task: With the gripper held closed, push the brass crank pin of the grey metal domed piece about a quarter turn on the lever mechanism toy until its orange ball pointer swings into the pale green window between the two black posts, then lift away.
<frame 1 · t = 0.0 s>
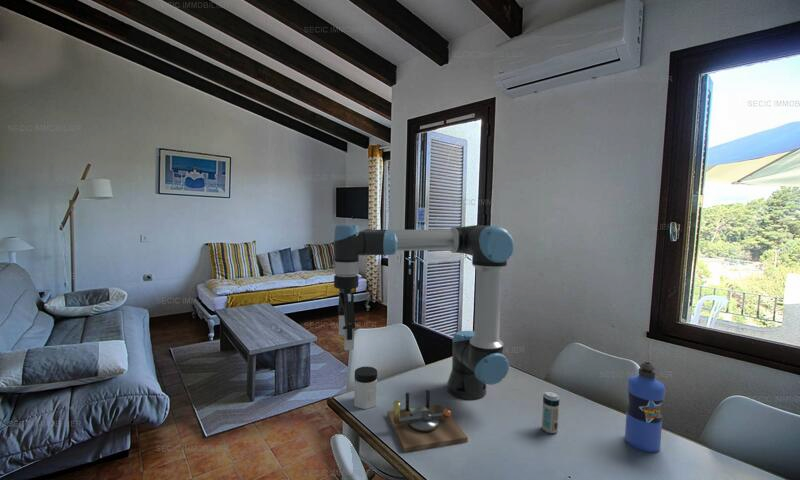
hand: (345, 341, 116), 28 cm above the table, fingers open, 13 cm apart
water bottle: (642, 443, 113), on the table
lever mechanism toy: (425, 428, 118), on the table
grey metal domed piece: (423, 410, 118), point 6 cm above the table, hinge at 0.0°
supplement bottle: (549, 430, 119), on the table
jar: (365, 403, 133), on the table
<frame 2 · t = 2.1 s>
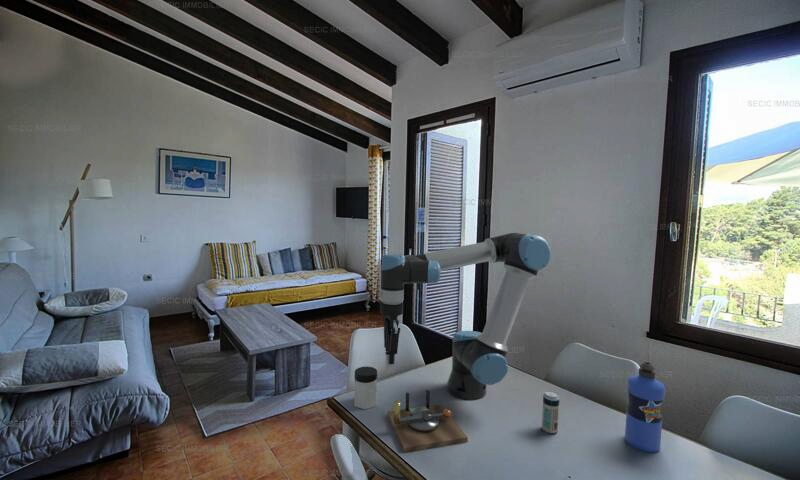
hand: (389, 371, 122), 16 cm above the table, fingers closed
nothing on the table moved.
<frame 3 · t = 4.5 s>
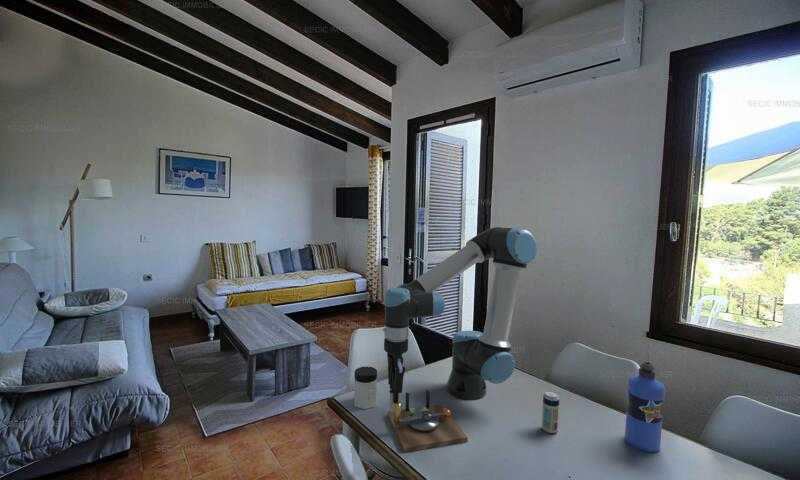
hand: (394, 410, 117), 6 cm above the table, fingers closed
grey metal domed piece: (423, 411, 118), point 6 cm above the table, hinge at 3.5°, touching gripper
everything else where it was.
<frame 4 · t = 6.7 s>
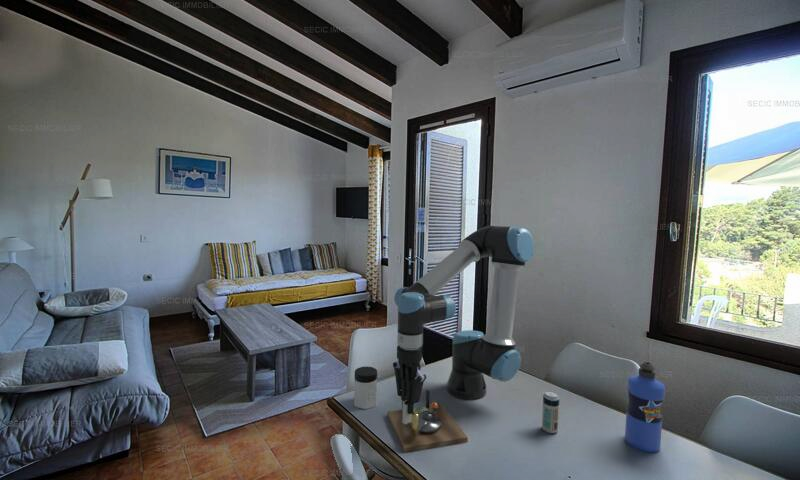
hand: (407, 421, 111), 6 cm above the table, fingers closed
grey metal domed piece: (425, 412, 117), point 6 cm above the table, hinge at 48.6°, touching gripper
everything else where it was.
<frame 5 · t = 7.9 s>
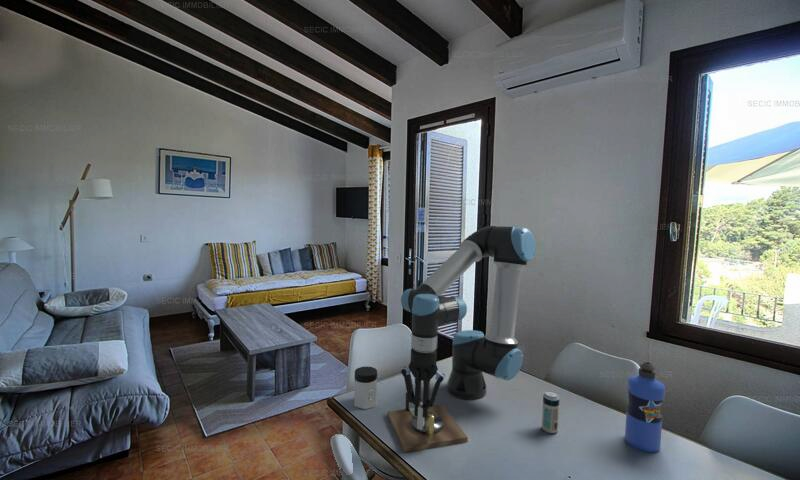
hand: (420, 426, 109), 6 cm above the table, fingers closed
grey metal domed piece: (427, 412, 117), point 6 cm above the table, hinge at 75.4°, touching gripper
everything else where it was.
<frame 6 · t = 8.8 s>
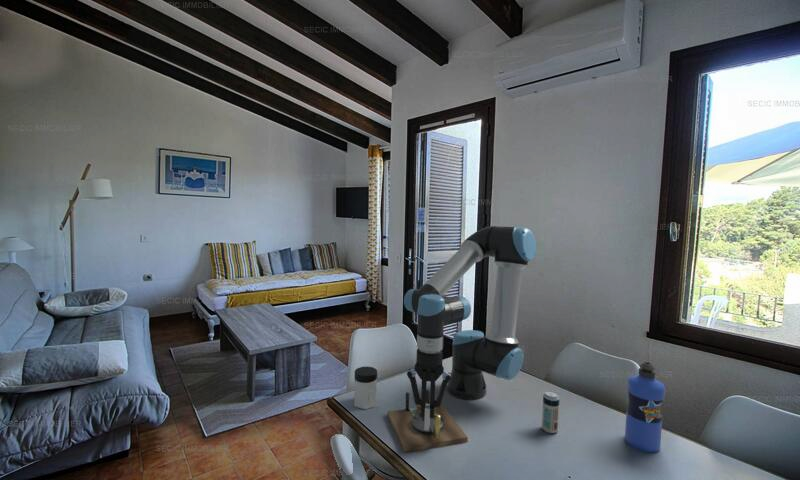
hand: (427, 427, 108), 6 cm above the table, fingers closed
grey metal domed piece: (428, 412, 117), point 6 cm above the table, hinge at 86.4°, touching gripper
everything else where it was.
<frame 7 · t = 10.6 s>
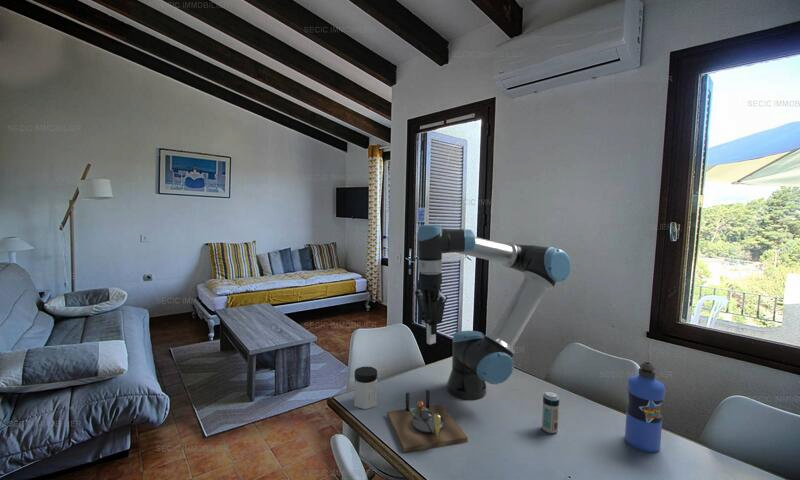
hand: (431, 342, 122), 26 cm above the table, fingers closed
grey metal domed piece: (428, 412, 117), point 6 cm above the table, hinge at 86.6°
everything else where it was.
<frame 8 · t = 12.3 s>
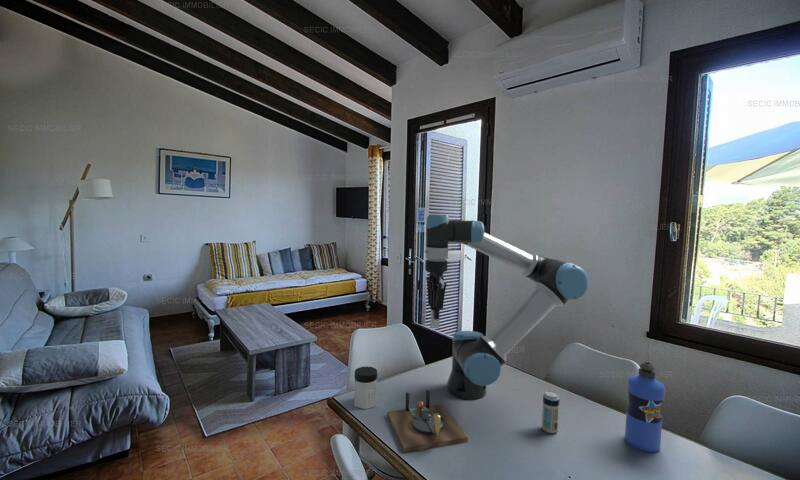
hand: (434, 327, 128), 29 cm above the table, fingers closed
nothing on the table moved.
at the end: grey metal domed piece at +87° (first picture: +0°) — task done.
